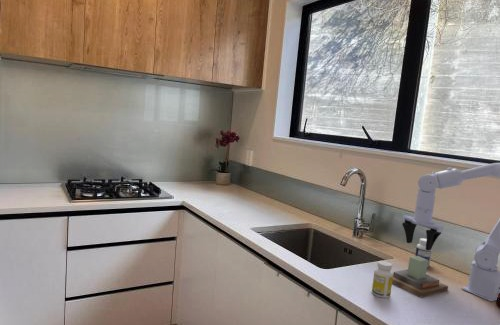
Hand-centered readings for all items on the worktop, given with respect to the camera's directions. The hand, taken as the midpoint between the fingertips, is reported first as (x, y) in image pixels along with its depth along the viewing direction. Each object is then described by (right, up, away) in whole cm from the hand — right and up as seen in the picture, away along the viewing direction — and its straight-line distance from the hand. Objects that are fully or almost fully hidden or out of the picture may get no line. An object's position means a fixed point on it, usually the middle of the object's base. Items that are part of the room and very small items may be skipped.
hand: (418, 246), depth 134 cm
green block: (-4, -8, -8) cm, 12 cm away
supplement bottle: (-20, -11, -18) cm, 29 cm away
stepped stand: (-5, -11, -8) cm, 14 cm away
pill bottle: (+7, -10, +13) cm, 18 cm away
